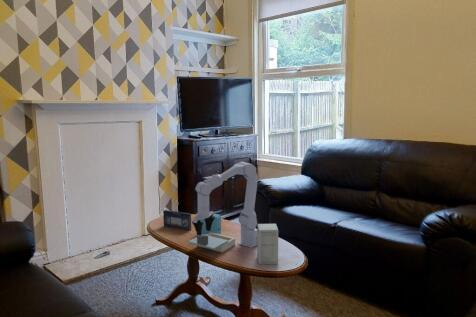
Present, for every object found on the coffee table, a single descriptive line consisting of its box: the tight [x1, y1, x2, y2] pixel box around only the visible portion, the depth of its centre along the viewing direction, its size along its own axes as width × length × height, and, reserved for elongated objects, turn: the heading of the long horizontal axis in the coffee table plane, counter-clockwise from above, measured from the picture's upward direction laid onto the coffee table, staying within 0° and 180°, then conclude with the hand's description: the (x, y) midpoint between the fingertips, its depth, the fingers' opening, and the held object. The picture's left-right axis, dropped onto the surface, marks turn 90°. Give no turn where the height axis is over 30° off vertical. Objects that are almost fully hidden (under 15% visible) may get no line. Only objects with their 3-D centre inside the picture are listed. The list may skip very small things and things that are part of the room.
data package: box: [200, 213, 222, 235], centre depth 214 cm, size 12×4×12 cm, turn 63°
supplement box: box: [256, 223, 279, 265], centre depth 180 cm, size 10×9×17 cm
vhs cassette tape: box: [162, 209, 192, 232], centre depth 225 cm, size 18×3×10 cm, turn 64°
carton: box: [196, 233, 236, 254], centre depth 198 cm, size 16×12×4 cm
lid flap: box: [187, 234, 228, 251], centre depth 191 cm, size 16×12×5 cm
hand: (203, 232), depth 188 cm, fingers open, 7 cm apart
